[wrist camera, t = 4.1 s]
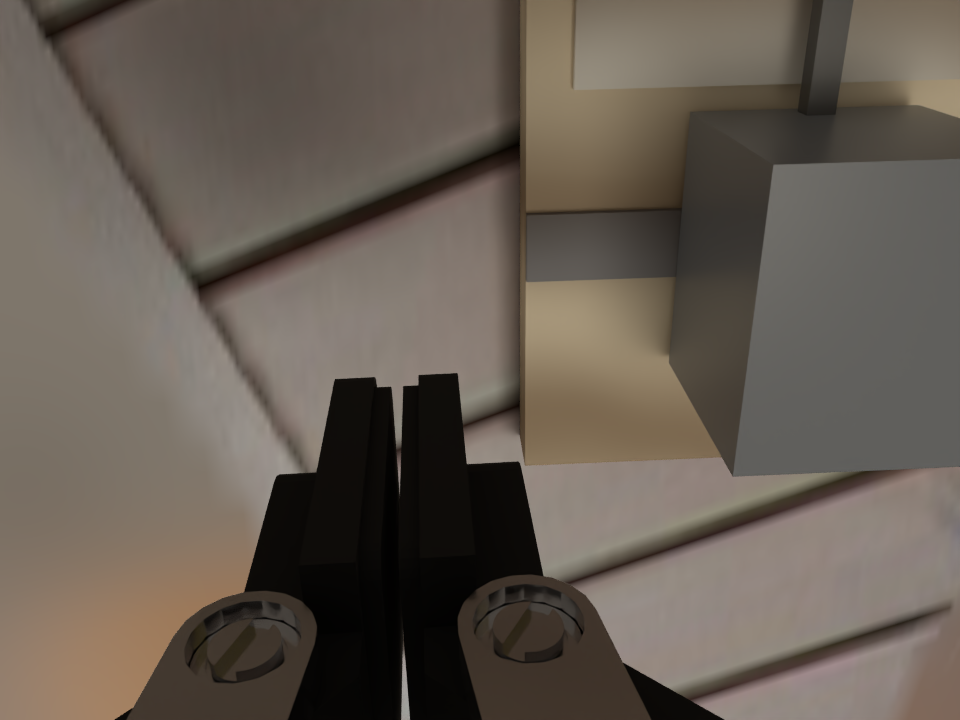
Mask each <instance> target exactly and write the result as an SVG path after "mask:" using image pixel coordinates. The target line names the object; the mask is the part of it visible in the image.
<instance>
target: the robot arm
mask: <svg viewBox="0 0 960 720" xmlns="http://www.w3.org/2000/svg"><path fill="white" fill-rule="evenodd" d="M403 634H404V647H405V660H406V672H407V685H408V698H409V711H410V720H724V719H722V718H720V717H718V716H717V715H715V714H713V713H711V712H710V711H708V710H706V709H704V708H703V707H701V706H699V705H697V704H695V703H694V702H692V701H690V700H688V699H687V698H685V697H683V696H681V695H679V694H678V693H676V692H674V691H672V690H671V689H669V688H667V687H665V686H663V685H662V684H660V683H658V682H656V681H655V680H653V679H651V678H649V677H647V676H646V675H644V674H642V673H640V672H639V671H637V670H635V669H633V668H631V667H630V666H628V665H626V664H624V663H623V662H622V660H621V658H620V656H619V654H618V652H617V650H616V648H615V646H614V644H613V642H612V640H611V638H610V636H609V634H608V632H607V630H606V628H605V626H604V624H603V622H602V620H601V618H600V616H599V614H598V612H597V610H596V609H595V607H594V606H593V605H592V603H591V602H590V601H589V599H588V598H587V597H586V595H584V594H583V593H581V592H580V591H578V590H577V589H576V588H574V587H573V586H571V585H570V584H567V583H564V582H562V581H559V580H557V579H554V578H551V577H544V576H543V571H542V567H541V562H540V557H539V552H538V547H537V542H536V538H535V533H534V528H533V523H532V518H531V513H530V508H529V504H528V499H527V494H526V489H525V484H524V479H523V475H522V470H521V466H520V463H519V462H501V463H483V464H467V463H466V453H465V443H464V433H463V423H462V413H461V403H460V393H459V382H458V373H452V374H432V375H419V385H418V386H403V414H402V447H401V479H400V494H399V481H398V467H397V453H396V440H395V426H394V412H393V399H392V389H391V387H378V388H377V384H376V379H375V377H370V378H350V379H335V381H334V386H333V391H332V396H331V401H330V406H329V411H328V416H327V421H326V427H325V432H324V437H323V442H322V447H321V452H320V457H319V462H318V468H317V473H298V474H280V475H278V476H277V477H276V479H275V482H274V485H273V488H272V492H271V496H270V499H269V503H268V507H267V510H266V514H265V518H264V521H263V525H262V529H261V532H260V536H259V540H258V543H257V547H256V551H255V554H254V558H253V562H252V565H251V569H250V573H249V577H248V580H247V584H246V587H245V591H244V593H240V594H236V595H232V596H228V597H225V598H222V599H220V600H218V601H216V602H214V603H212V604H210V605H207V606H205V607H203V608H202V609H201V610H199V611H198V612H197V613H195V614H194V615H193V616H191V617H190V618H189V619H188V620H186V621H185V622H184V624H183V625H182V626H181V628H180V629H179V630H178V631H177V633H176V634H175V635H174V636H173V638H172V640H171V642H170V644H169V646H168V647H167V649H166V651H165V652H164V654H163V656H162V658H161V659H160V661H159V663H158V665H157V667H156V668H155V670H154V672H153V674H152V676H151V677H150V679H149V681H148V683H147V684H146V686H145V688H144V690H143V691H142V693H141V695H140V697H139V698H138V700H137V702H136V704H135V706H134V707H133V708H132V709H130V710H129V711H127V712H126V713H124V714H123V715H121V716H120V717H118V718H117V719H115V720H401V702H402V653H403Z"/></svg>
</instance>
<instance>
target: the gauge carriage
mask: <svg viewBox="0 0 960 720" xmlns="http://www.w3.org/2000/svg"><path fill="white" fill-rule="evenodd" d="M853 1H854V0H813V4H812V11H811V18H810V25H809V33H808V40H807V47H806V54H805V61H804V69H803V76H802V83H801V90H800V97H799V105H798V109H765V110H731V111H697V112H690V119H689V131H688V143H687V155H686V166H685V178H684V190H683V202H682V213H681V225H680V237H679V248H678V260H677V272H676V284H675V295H674V307H673V319H672V330H671V342H670V354H669V364H670V366H671V368H672V369H673V371H674V373H675V375H676V377H677V378H678V380H679V382H680V384H681V385H682V387H683V389H684V391H685V393H686V394H687V396H688V398H689V400H690V401H691V403H692V405H693V407H694V409H695V410H696V412H697V414H698V416H699V417H700V419H701V421H702V423H703V425H704V426H705V428H706V430H707V432H708V433H709V435H710V437H711V439H712V441H713V442H714V444H715V446H716V448H717V449H718V451H719V453H720V455H721V457H722V458H723V460H724V462H725V464H726V465H727V467H728V469H729V471H730V473H731V474H732V476H733V477H735V476H758V475H780V474H803V473H826V472H849V471H872V470H895V469H918V468H941V467H960V118H958V117H955V116H952V115H948V114H945V113H942V112H939V111H936V110H933V109H930V108H927V107H924V106H920V105H902V106H868V107H837V102H838V95H839V89H840V83H841V76H842V70H843V64H844V57H845V51H846V45H847V39H848V32H849V26H850V20H851V13H852V7H853Z"/></svg>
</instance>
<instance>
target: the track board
mask: <svg viewBox="0 0 960 720" xmlns="http://www.w3.org/2000/svg"><path fill="white" fill-rule="evenodd" d="M812 4H813V0H520V439H521V445H522V451H523V456H524V462H525V466H526V465H550V464H573V463H597V462H620V461H643V460H667V459H690V458H713V457H721V455H720V453H719V451H718V449H717V448H716V446H715V444H714V442H713V441H712V439H711V437H710V435H709V433H708V432H707V430H706V428H705V426H704V425H703V423H702V421H701V419H700V417H699V416H698V414H697V412H696V410H695V409H694V407H693V405H692V403H691V401H690V400H689V398H688V396H687V394H686V393H685V391H684V389H683V387H682V385H681V384H680V382H679V380H678V378H677V377H676V375H675V373H674V371H673V369H672V368H671V366H670V364H669V354H670V342H671V330H672V319H673V307H674V295H675V284H676V272H677V260H678V248H679V237H680V225H681V213H682V202H683V190H684V178H685V166H686V155H687V143H688V131H689V119H690V112H697V111H731V110H765V109H798V105H799V97H800V90H801V83H802V76H803V69H804V61H805V54H806V47H807V40H808V33H809V25H810V18H811V11H812ZM902 105H920V106H924V107H927V108H930V109H933V110H936V111H939V112H942V113H945V114H948V115H952V116H955V117H958V118H960V0H854V1H853V7H852V13H851V20H850V26H849V32H848V39H847V45H846V51H845V57H844V64H843V70H842V76H841V83H840V89H839V95H838V102H837V107H868V106H902Z"/></svg>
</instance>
